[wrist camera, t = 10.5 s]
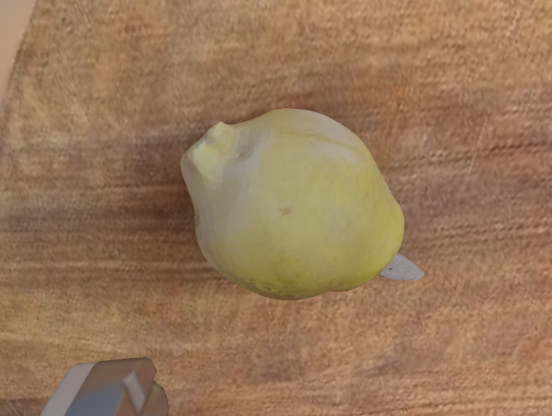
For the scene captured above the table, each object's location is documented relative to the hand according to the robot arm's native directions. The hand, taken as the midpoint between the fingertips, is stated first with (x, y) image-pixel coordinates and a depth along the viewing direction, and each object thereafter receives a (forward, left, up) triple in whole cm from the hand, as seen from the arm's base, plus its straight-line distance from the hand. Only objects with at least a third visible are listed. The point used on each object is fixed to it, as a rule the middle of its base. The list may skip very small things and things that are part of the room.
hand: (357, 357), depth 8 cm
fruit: (0, 0, -9) cm, 9 cm away
